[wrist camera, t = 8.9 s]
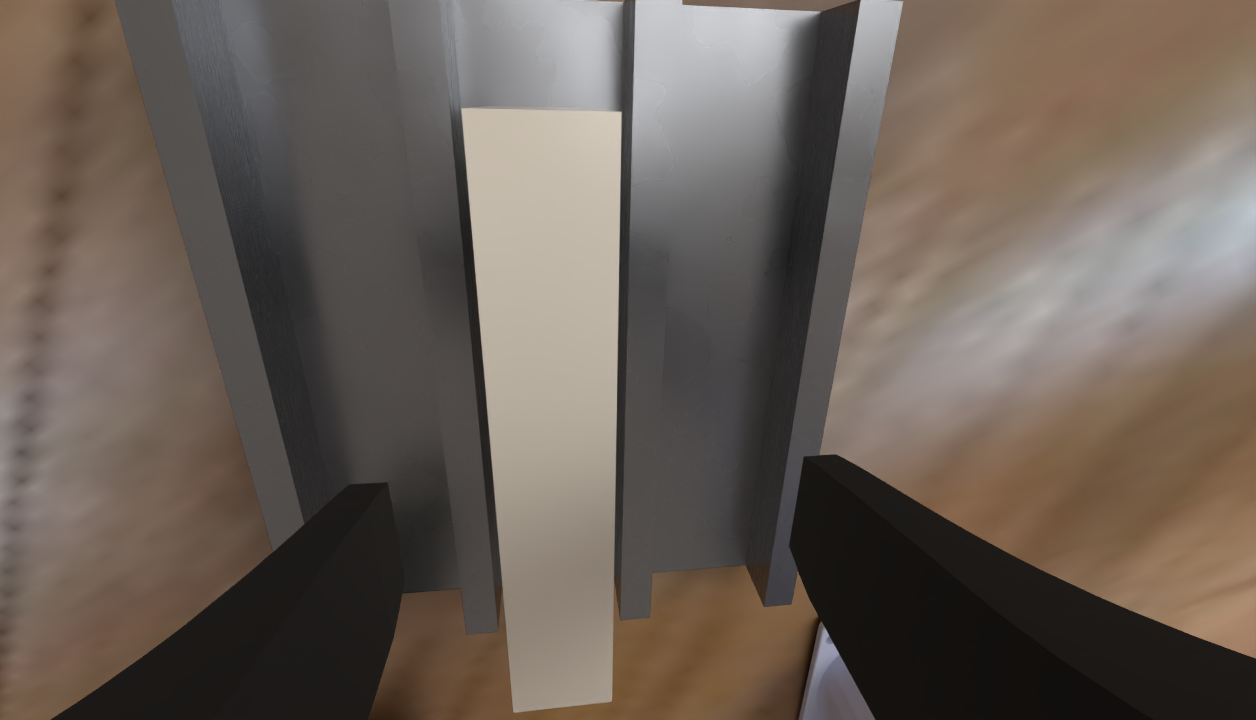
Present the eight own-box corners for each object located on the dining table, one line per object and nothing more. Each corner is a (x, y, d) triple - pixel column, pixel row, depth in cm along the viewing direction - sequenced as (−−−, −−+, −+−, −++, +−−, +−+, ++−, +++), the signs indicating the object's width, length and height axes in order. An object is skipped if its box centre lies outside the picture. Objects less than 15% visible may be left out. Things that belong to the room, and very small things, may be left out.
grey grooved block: (761, 544, 23) (791, 604, 20) (332, 578, 21) (301, 650, 18) (839, 19, 16) (903, 1, 13) (191, -12, 13) (102, -42, 11)
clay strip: (593, 541, 20) (612, 701, 15) (521, 547, 20) (513, 712, 15) (592, 108, 15) (621, 111, 9) (492, 106, 14) (461, 107, 9)
